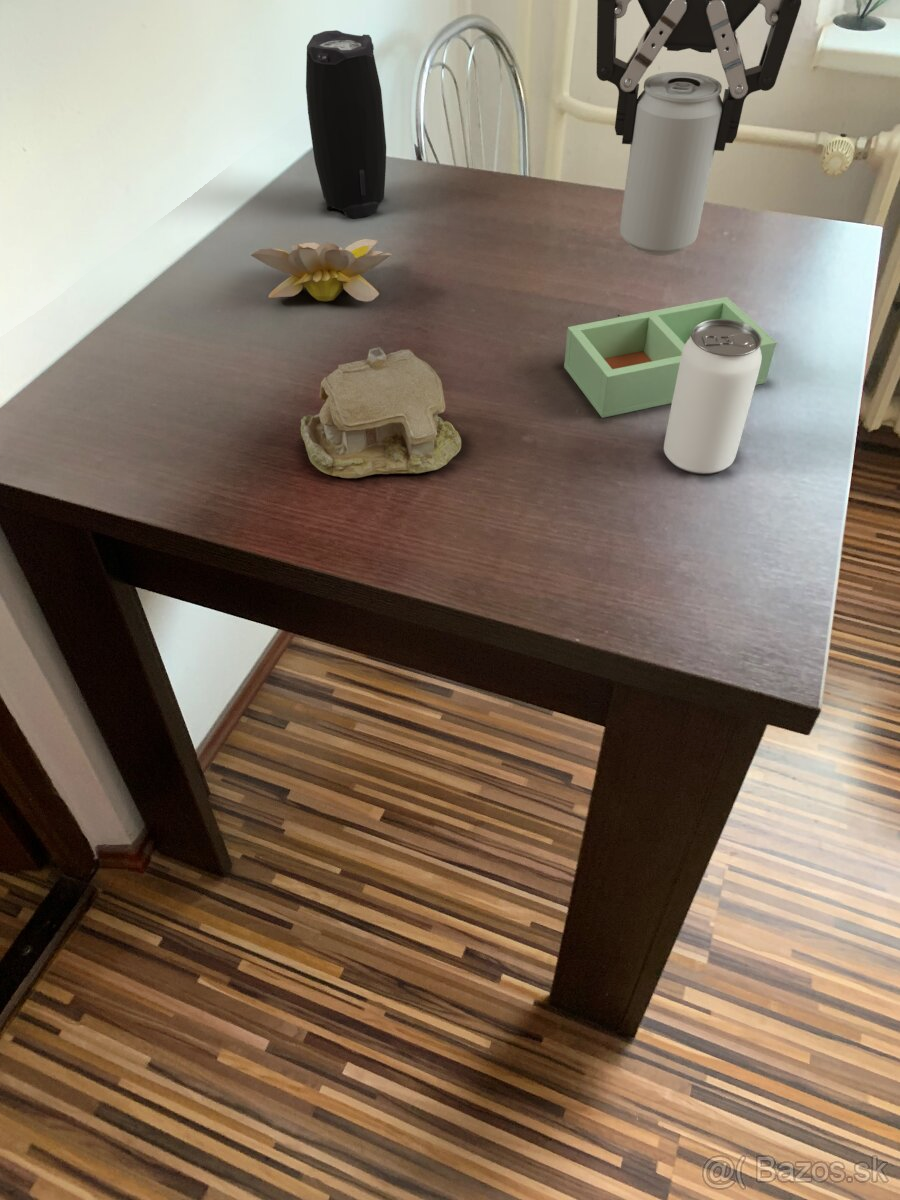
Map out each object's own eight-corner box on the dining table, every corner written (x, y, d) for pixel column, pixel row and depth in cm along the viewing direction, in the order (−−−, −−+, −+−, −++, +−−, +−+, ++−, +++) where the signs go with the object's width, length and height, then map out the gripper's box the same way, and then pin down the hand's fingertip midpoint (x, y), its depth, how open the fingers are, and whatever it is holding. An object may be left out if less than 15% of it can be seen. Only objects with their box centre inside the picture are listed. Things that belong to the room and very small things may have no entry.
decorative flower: (407, 252, 105) (392, 175, 96) (395, 320, 100) (379, 245, 91) (286, 256, 107) (261, 182, 99) (268, 323, 102) (240, 250, 93)
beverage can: (700, 229, 75) (732, 72, 66) (689, 264, 71) (721, 102, 62) (626, 219, 77) (647, 64, 68) (611, 253, 72) (631, 93, 64)
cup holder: (765, 383, 88) (776, 342, 85) (602, 418, 85) (607, 376, 81) (717, 336, 94) (726, 296, 91) (563, 367, 91) (567, 326, 88)
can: (741, 476, 79) (775, 357, 70) (668, 477, 79) (693, 358, 70) (727, 432, 83) (757, 315, 74) (657, 433, 83) (679, 316, 74)
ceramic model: (433, 398, 88) (430, 304, 80) (474, 463, 80) (475, 368, 73) (295, 429, 84) (278, 335, 77) (325, 501, 77) (309, 404, 70)
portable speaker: (323, 193, 121) (303, 29, 107) (391, 192, 121) (380, 27, 107) (317, 221, 115) (295, 50, 101) (389, 219, 115) (377, 48, 101)
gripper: (600, -126, 55) (574, 156, 67) (843, -120, 52) (770, 170, 65) (610, -146, 59) (584, 120, 72) (832, -142, 57) (767, 132, 70)
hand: (673, 143), depth 68 cm, fingers closed on beverage can, 6 cm apart
